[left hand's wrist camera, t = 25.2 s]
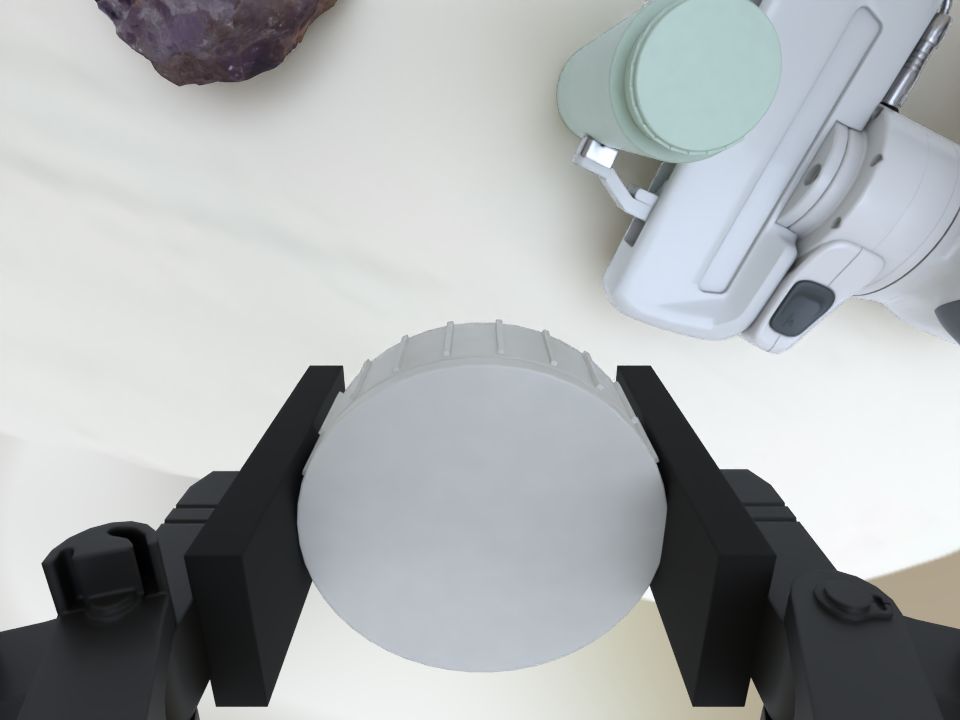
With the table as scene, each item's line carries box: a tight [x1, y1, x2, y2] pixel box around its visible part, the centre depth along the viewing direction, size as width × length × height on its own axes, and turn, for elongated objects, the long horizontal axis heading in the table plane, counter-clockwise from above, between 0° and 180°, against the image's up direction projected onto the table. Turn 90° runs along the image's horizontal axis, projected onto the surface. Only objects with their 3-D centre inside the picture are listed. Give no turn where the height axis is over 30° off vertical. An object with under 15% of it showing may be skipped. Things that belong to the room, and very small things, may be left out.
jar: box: [557, 0, 782, 163], centre depth 28 cm, size 6×6×19 cm
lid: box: [297, 320, 667, 672], centre depth 12 cm, size 6×6×2 cm
